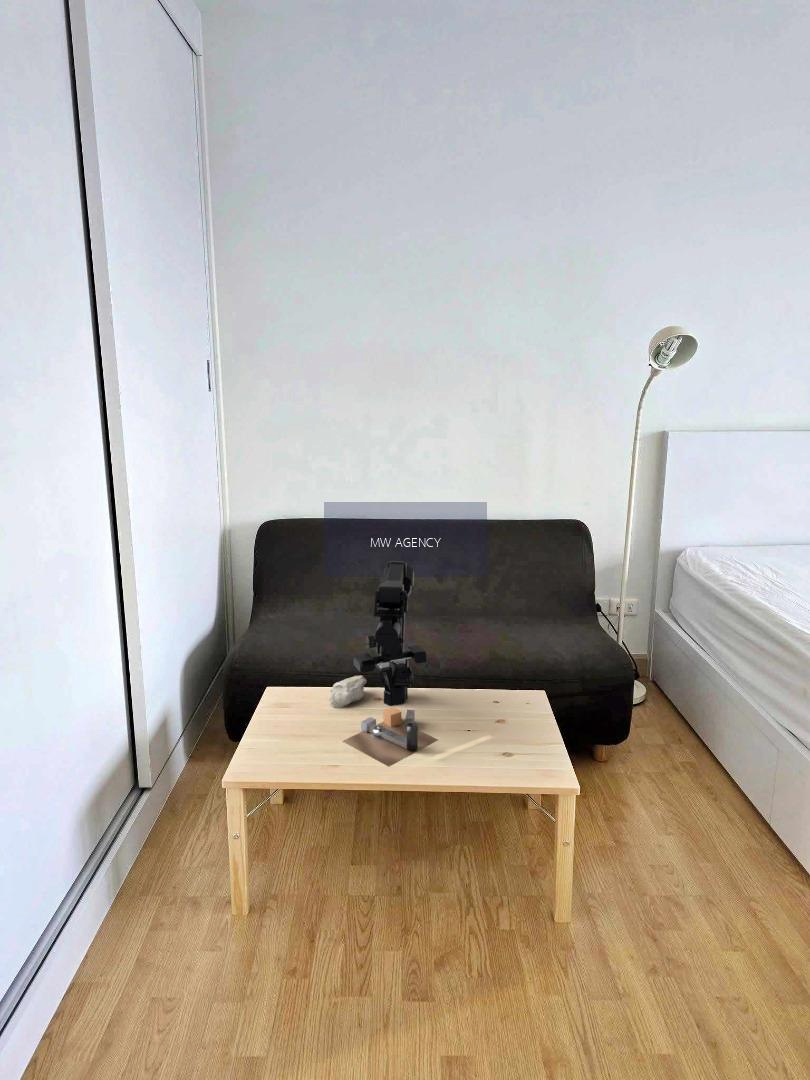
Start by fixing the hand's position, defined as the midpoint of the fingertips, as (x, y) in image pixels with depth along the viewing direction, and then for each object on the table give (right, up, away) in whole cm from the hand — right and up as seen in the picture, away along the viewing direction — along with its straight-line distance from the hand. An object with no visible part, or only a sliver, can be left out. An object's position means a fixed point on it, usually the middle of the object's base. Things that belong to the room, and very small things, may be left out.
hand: (390, 688), depth 192 cm
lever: (0, -12, -4) cm, 13 cm away
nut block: (0, -10, +5) cm, 11 cm away
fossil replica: (-13, -8, +18) cm, 24 cm away
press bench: (+1, -13, -3) cm, 14 cm away
